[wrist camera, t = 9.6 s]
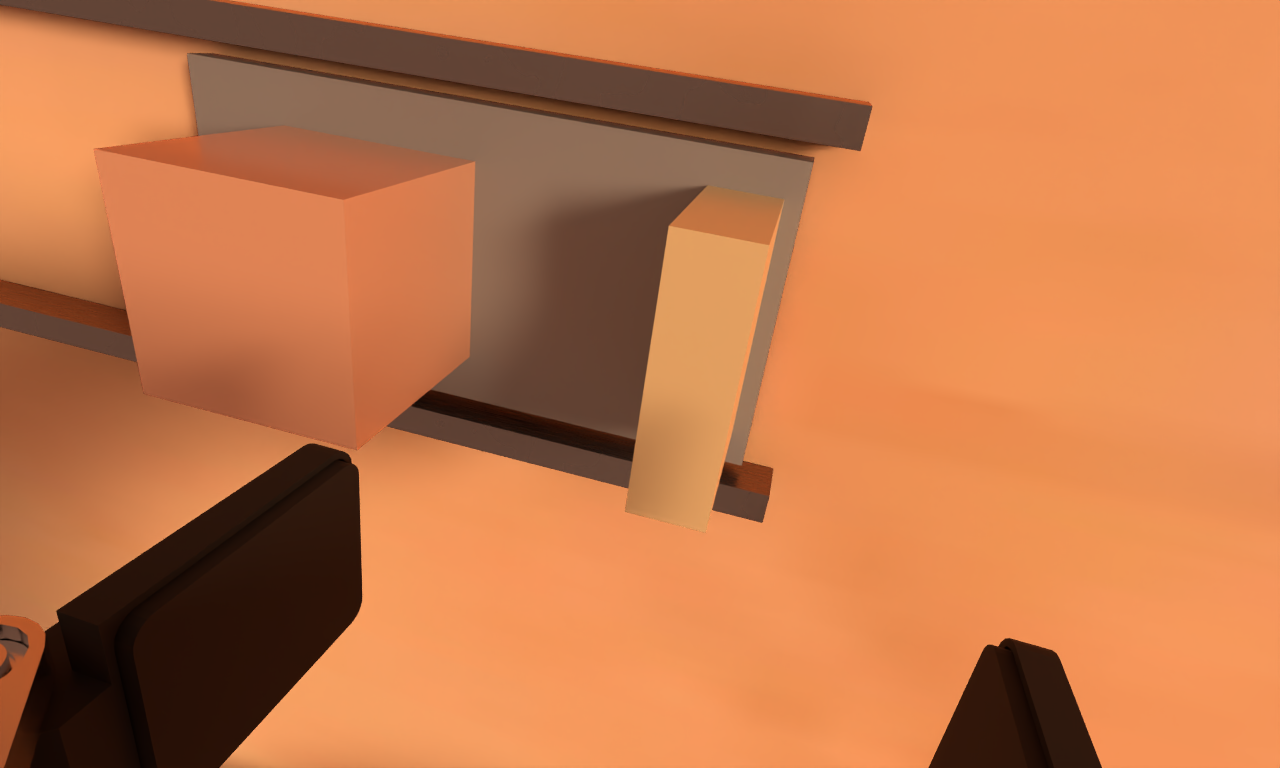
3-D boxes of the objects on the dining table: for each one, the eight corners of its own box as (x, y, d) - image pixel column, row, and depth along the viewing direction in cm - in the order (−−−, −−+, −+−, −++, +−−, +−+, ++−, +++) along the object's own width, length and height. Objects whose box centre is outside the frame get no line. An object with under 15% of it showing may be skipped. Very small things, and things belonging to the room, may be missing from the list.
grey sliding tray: (814, 157, 18) (808, 197, 13) (745, 449, 22) (718, 570, 17) (213, 53, 21) (8, 51, 16) (247, 329, 25) (93, 401, 20)
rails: (766, 494, 23) (762, 522, 22) (-34, 293, 28) (-79, 306, 27) (869, 102, 18) (872, 105, 16) (-143, -59, 23) (-207, -67, 21)
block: (469, 357, 22) (356, 450, 17) (300, 316, 23) (143, 393, 18) (475, 161, 20) (343, 199, 14) (284, 125, 20) (93, 149, 15)
